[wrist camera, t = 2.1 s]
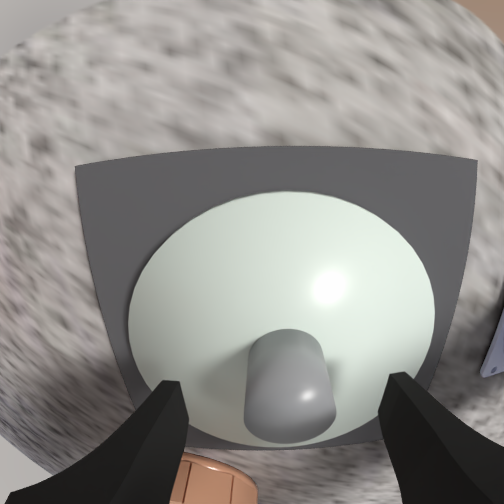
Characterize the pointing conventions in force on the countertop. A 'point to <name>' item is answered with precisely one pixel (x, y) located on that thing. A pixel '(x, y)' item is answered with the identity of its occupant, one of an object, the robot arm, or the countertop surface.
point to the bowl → (211, 483)
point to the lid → (281, 317)
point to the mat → (262, 180)
